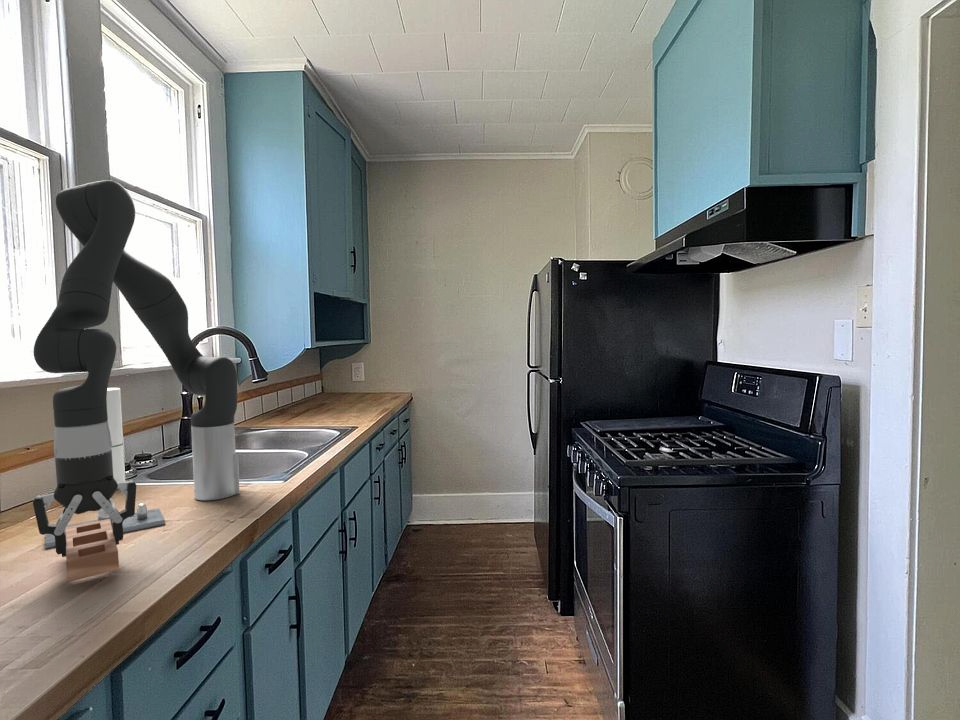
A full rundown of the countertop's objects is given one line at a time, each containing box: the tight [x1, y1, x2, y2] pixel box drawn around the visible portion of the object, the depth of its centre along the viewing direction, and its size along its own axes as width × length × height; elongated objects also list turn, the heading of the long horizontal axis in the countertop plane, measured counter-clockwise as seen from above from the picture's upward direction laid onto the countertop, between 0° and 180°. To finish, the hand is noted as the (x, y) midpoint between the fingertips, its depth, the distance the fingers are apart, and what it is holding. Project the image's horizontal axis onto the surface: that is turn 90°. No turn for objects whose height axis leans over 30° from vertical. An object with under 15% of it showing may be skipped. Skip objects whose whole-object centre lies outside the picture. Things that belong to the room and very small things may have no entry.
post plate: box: [44, 497, 166, 549], centre depth 107 cm, size 19×9×6 cm, turn 128°
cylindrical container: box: [106, 387, 126, 482], centre depth 135 cm, size 7×7×25 cm
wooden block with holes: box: [65, 519, 120, 583], centre depth 89 cm, size 18×6×3 cm, turn 38°
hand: (90, 549), depth 89 cm, fingers closed on wooden block with holes, 6 cm apart
